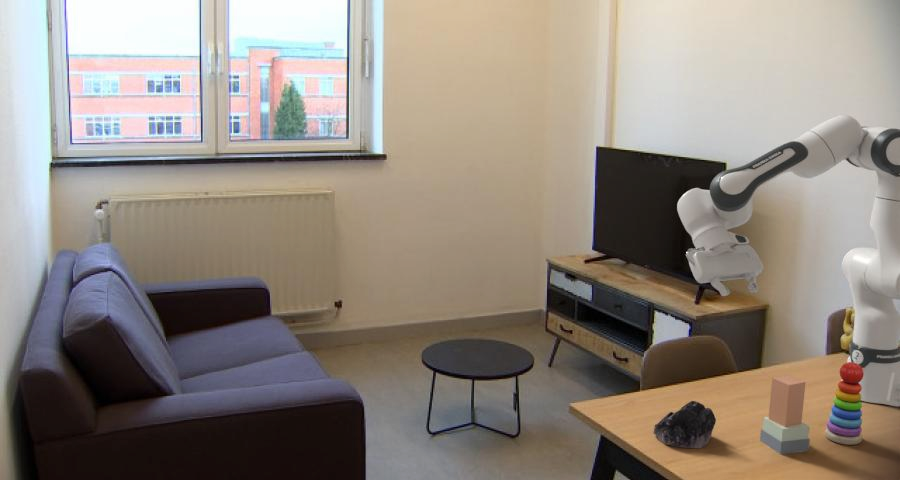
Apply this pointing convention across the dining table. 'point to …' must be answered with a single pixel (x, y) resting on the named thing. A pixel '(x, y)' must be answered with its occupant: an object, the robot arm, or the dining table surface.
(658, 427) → the crystal cluster
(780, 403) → the terracotta brick
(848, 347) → the decorative figurine
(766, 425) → the two-tone pastel block
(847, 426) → the stacking toy
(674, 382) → the dining table surface
